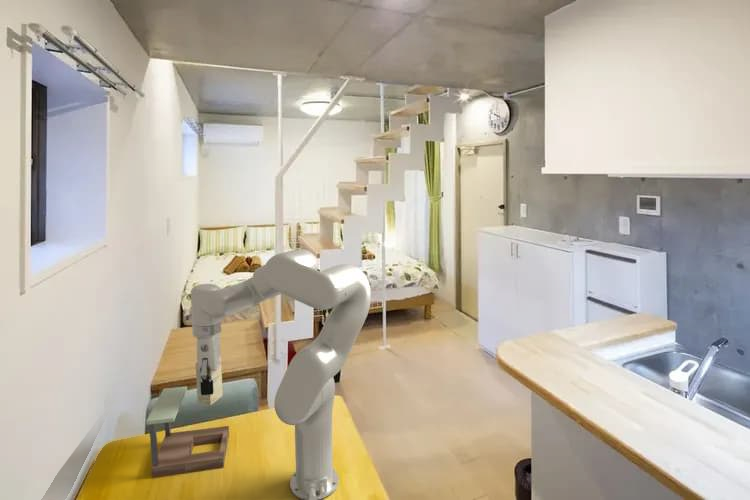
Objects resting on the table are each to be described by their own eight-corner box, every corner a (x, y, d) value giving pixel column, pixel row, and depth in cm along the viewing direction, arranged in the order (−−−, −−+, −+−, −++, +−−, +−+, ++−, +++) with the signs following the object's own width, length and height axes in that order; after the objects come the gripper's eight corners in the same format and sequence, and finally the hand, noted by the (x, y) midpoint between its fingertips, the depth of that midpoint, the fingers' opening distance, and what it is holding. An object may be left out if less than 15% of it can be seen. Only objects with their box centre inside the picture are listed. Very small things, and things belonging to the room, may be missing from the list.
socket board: (222, 470, 114) (219, 412, 112) (151, 480, 110) (146, 421, 107) (229, 432, 132) (226, 382, 129) (167, 440, 127) (163, 388, 125)
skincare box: (210, 406, 116) (208, 365, 114) (196, 404, 117) (194, 363, 115) (223, 395, 122) (221, 356, 120) (209, 393, 123) (208, 354, 121)
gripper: (216, 338, 109) (219, 401, 112) (225, 317, 126) (227, 373, 128) (185, 340, 107) (189, 404, 110) (198, 319, 124) (201, 375, 127)
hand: (209, 387), depth 119 cm, fingers closed on skincare box, 7 cm apart
